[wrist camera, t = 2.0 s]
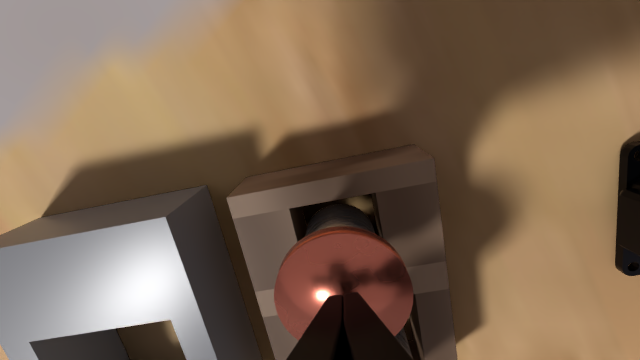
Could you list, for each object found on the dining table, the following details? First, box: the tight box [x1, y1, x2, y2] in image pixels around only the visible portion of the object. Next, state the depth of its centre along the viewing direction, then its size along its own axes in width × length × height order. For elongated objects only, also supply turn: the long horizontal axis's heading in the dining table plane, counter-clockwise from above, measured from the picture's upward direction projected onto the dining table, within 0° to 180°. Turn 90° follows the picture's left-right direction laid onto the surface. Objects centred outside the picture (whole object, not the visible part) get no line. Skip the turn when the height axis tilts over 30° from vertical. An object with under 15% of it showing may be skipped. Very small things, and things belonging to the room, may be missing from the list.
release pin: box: [274, 204, 413, 341], centre depth 11 cm, size 4×4×4 cm
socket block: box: [226, 145, 457, 360], centre depth 15 cm, size 8×12×3 cm, turn 12°
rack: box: [0, 185, 262, 360], centre depth 16 cm, size 9×12×4 cm
